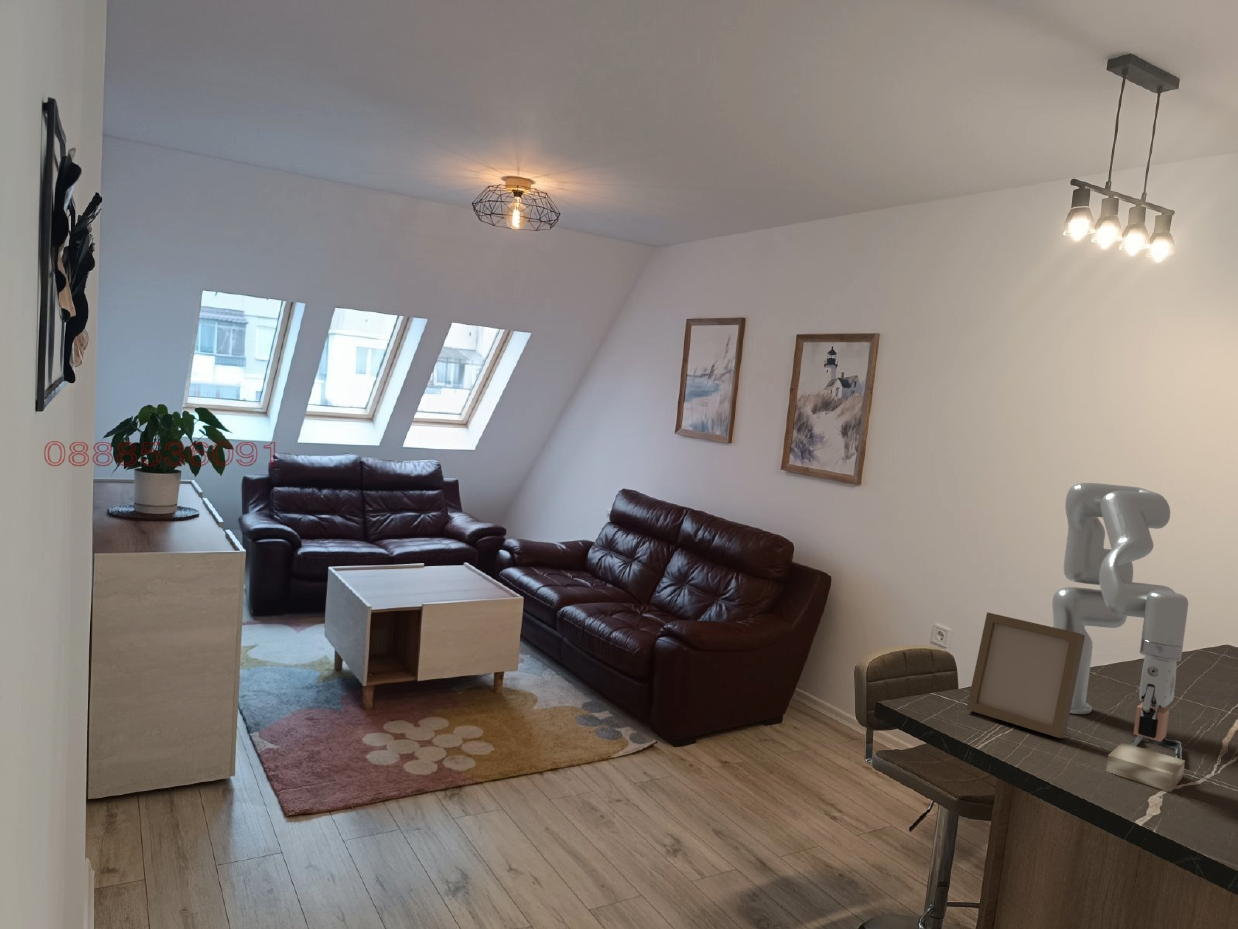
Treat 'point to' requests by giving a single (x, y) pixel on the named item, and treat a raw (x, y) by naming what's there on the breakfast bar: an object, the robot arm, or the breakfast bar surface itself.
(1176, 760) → the birch block
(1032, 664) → the photo frame
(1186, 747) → the breakfast bar surface
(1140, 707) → the terracotta block
